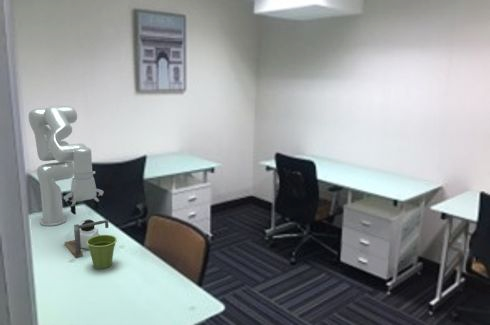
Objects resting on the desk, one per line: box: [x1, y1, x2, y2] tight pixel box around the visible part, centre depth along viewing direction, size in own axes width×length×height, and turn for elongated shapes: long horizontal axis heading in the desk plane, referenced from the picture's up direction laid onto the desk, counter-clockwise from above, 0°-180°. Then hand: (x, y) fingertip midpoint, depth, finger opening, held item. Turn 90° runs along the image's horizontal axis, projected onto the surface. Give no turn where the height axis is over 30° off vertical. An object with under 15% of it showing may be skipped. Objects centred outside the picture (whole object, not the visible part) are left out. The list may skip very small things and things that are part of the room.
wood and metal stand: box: [63, 219, 109, 259], centre depth 183 cm, size 16×16×14 cm
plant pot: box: [86, 234, 118, 270], centre depth 167 cm, size 12×12×11 cm
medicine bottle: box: [79, 219, 99, 249], centre depth 183 cm, size 7×7×12 cm
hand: (84, 211), depth 182 cm, fingers open, 9 cm apart
